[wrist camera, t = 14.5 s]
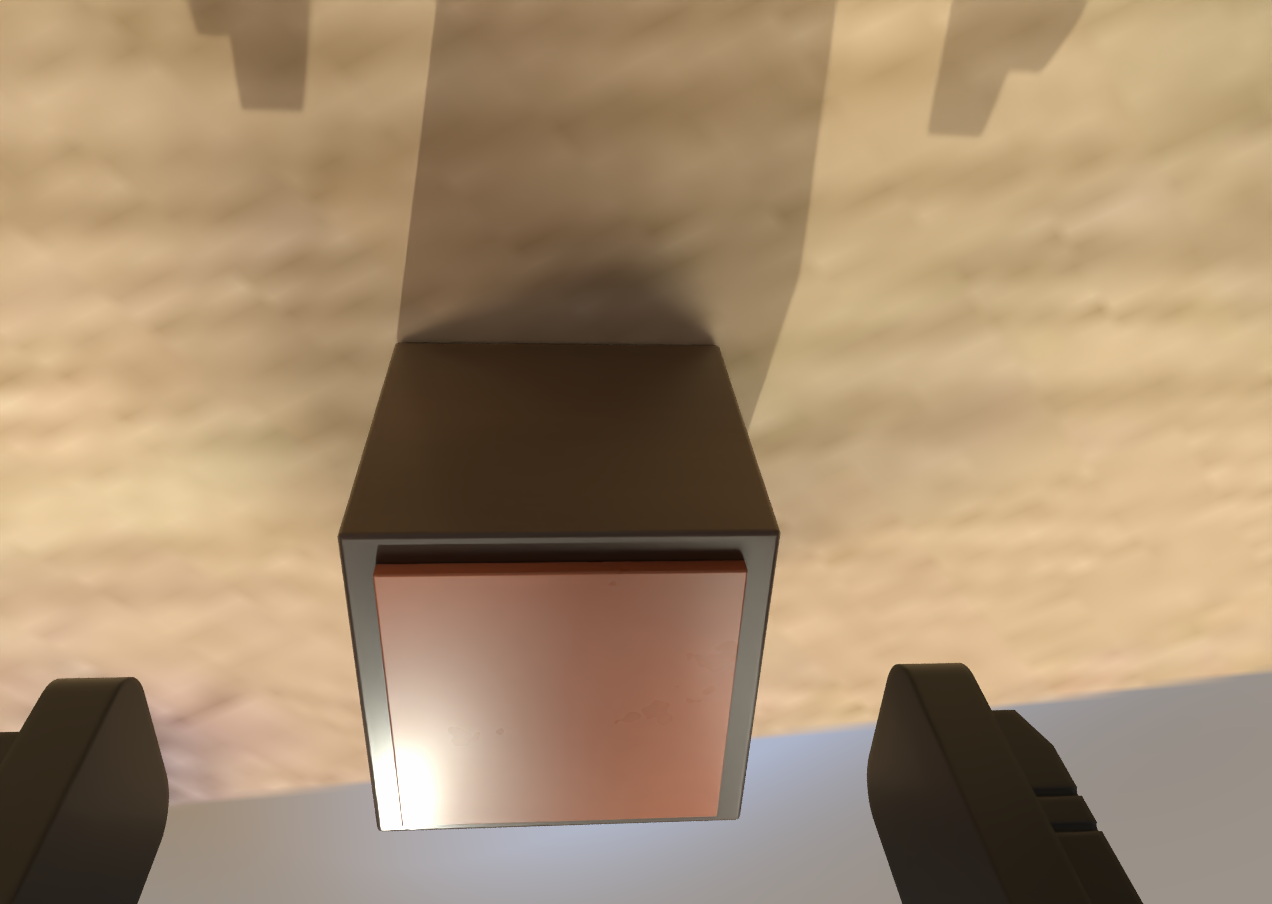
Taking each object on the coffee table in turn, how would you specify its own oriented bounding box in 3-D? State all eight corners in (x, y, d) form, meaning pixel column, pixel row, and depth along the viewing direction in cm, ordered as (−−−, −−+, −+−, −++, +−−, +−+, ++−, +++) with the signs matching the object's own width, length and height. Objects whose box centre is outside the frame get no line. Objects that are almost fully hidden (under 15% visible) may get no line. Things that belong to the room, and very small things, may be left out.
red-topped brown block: (719, 344, 14) (786, 542, 10) (696, 593, 17) (743, 835, 13) (394, 341, 14) (332, 547, 10) (417, 596, 16) (374, 848, 12)
